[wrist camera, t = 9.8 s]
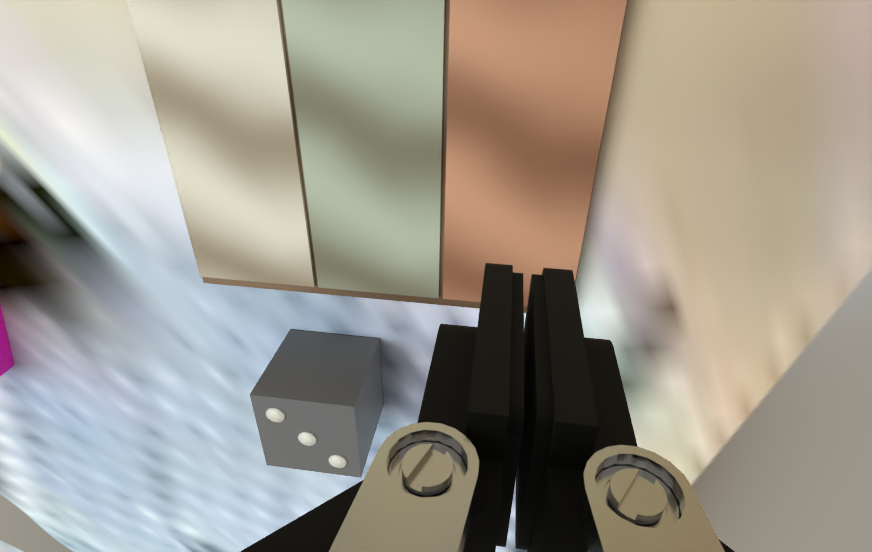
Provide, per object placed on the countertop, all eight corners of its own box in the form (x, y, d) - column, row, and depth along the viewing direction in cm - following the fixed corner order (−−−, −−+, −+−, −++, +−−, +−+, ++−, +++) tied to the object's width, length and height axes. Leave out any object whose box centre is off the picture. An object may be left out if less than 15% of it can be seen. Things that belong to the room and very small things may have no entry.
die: (290, 329, 28) (248, 396, 24) (379, 338, 28) (353, 408, 24) (301, 395, 31) (266, 466, 27) (383, 405, 30) (360, 479, 26)
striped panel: (104, -133, 18) (88, -137, 18) (649, -135, 16) (654, -139, 15) (209, 276, 27) (201, 284, 27) (568, 309, 25) (569, 319, 24)
